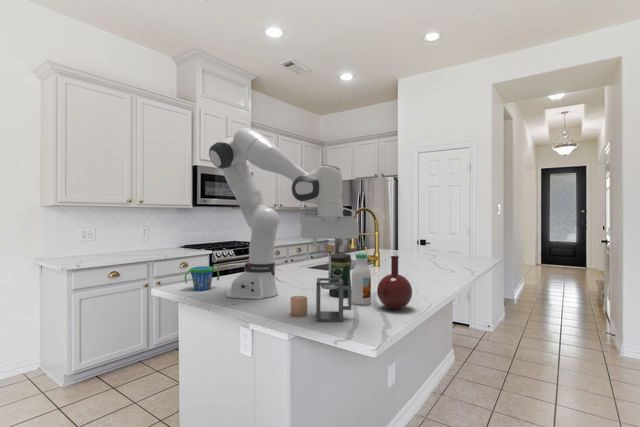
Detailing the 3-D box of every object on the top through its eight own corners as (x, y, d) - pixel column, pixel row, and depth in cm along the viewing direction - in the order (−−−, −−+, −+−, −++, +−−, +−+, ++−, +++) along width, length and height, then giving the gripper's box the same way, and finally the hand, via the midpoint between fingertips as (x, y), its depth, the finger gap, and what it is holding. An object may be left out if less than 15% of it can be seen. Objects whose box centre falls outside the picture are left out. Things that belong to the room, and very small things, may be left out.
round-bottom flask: (403, 315, 129) (403, 259, 129) (370, 309, 137) (371, 256, 137) (417, 307, 139) (417, 256, 139) (386, 302, 147) (386, 253, 147)
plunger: (320, 289, 122) (321, 246, 122) (321, 285, 128) (321, 244, 128) (338, 289, 122) (338, 246, 122) (338, 285, 128) (338, 244, 128)
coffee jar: (353, 294, 161) (354, 253, 161) (347, 298, 154) (347, 255, 154) (333, 292, 165) (334, 252, 165) (326, 296, 158) (326, 253, 158)
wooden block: (289, 316, 127) (289, 299, 127) (291, 312, 133) (291, 295, 133) (306, 316, 127) (306, 299, 126) (307, 312, 133) (307, 295, 132)
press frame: (316, 321, 121) (316, 283, 121) (317, 314, 130) (317, 278, 130) (352, 322, 121) (352, 283, 121) (350, 314, 130) (350, 278, 130)
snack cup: (184, 292, 163) (185, 270, 163) (184, 288, 172) (184, 266, 172) (220, 290, 169) (220, 268, 169) (217, 285, 178) (218, 265, 178)
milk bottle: (355, 306, 141) (356, 255, 141) (348, 301, 149) (349, 253, 149) (373, 304, 144) (374, 254, 143) (366, 300, 151) (366, 252, 151)
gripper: (299, 211, 122) (299, 252, 122) (359, 211, 122) (359, 252, 122) (300, 211, 129) (300, 250, 129) (358, 211, 128) (358, 250, 128)
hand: (329, 251), depth 125 cm, fingers open, 7 cm apart
